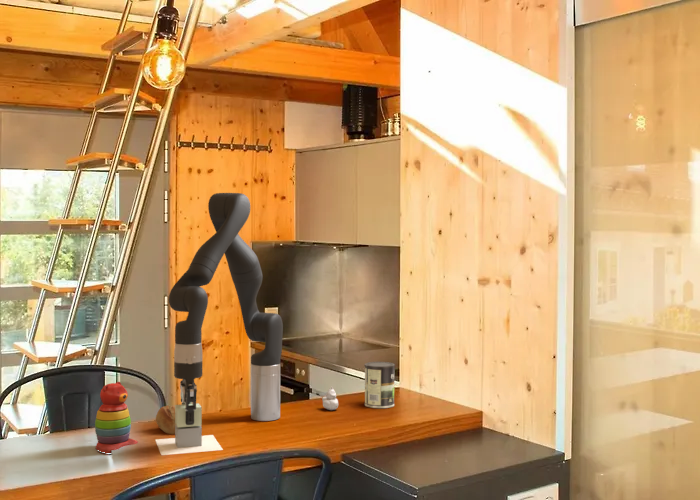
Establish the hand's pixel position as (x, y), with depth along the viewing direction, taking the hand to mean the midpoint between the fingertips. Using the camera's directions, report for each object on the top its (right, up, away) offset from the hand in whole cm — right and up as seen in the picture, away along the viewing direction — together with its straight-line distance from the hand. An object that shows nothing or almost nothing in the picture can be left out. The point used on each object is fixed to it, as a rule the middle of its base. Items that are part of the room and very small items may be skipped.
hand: (188, 421), depth 216 cm
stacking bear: (-20, -7, +1) cm, 22 cm away
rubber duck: (+37, -6, +48) cm, 61 cm away
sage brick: (0, -1, 0) cm, 1 cm away
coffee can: (+54, -6, +55) cm, 77 cm away
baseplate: (0, -7, 0) cm, 7 cm away
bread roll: (-8, -7, +17) cm, 20 cm away
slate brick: (0, -6, 0) cm, 6 cm away
